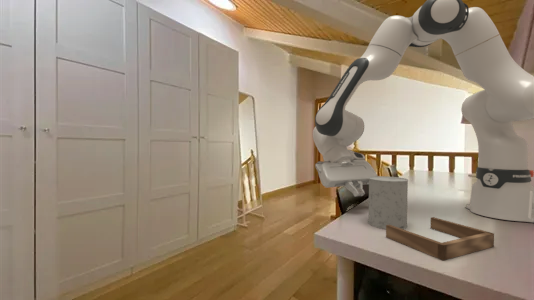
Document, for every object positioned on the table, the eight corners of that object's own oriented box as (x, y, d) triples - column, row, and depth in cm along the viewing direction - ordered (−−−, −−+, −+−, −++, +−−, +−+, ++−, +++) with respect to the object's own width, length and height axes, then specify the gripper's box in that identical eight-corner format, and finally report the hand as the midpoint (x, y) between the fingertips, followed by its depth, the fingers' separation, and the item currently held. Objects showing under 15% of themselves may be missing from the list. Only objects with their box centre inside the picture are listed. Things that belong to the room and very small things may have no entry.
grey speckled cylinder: (412, 231, 64) (413, 181, 64) (371, 228, 66) (372, 180, 66) (401, 220, 73) (401, 176, 73) (365, 218, 75) (365, 175, 75)
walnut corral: (433, 227, 67) (433, 217, 66) (493, 246, 55) (494, 233, 55) (385, 237, 60) (386, 225, 60) (443, 260, 48) (443, 245, 48)
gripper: (317, 155, 81) (337, 191, 73) (367, 154, 89) (390, 186, 81) (309, 168, 86) (327, 204, 77) (357, 166, 94) (378, 198, 85)
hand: (360, 195), depth 79 cm, fingers closed
